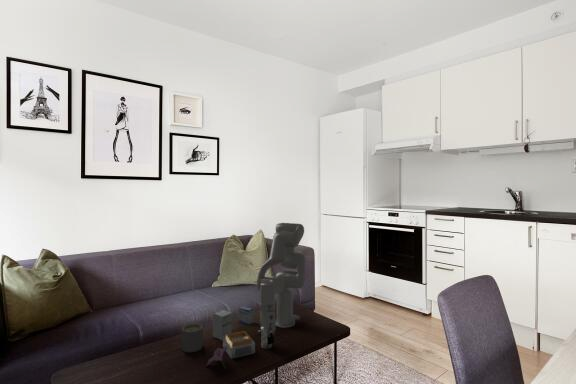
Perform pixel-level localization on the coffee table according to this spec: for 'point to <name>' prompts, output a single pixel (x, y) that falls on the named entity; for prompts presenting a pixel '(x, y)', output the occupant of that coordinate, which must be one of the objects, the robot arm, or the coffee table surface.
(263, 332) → the spout can
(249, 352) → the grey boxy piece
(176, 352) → the coffee table surface
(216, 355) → the lily
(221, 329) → the supplement box
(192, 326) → the coffee mug
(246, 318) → the medicine box
